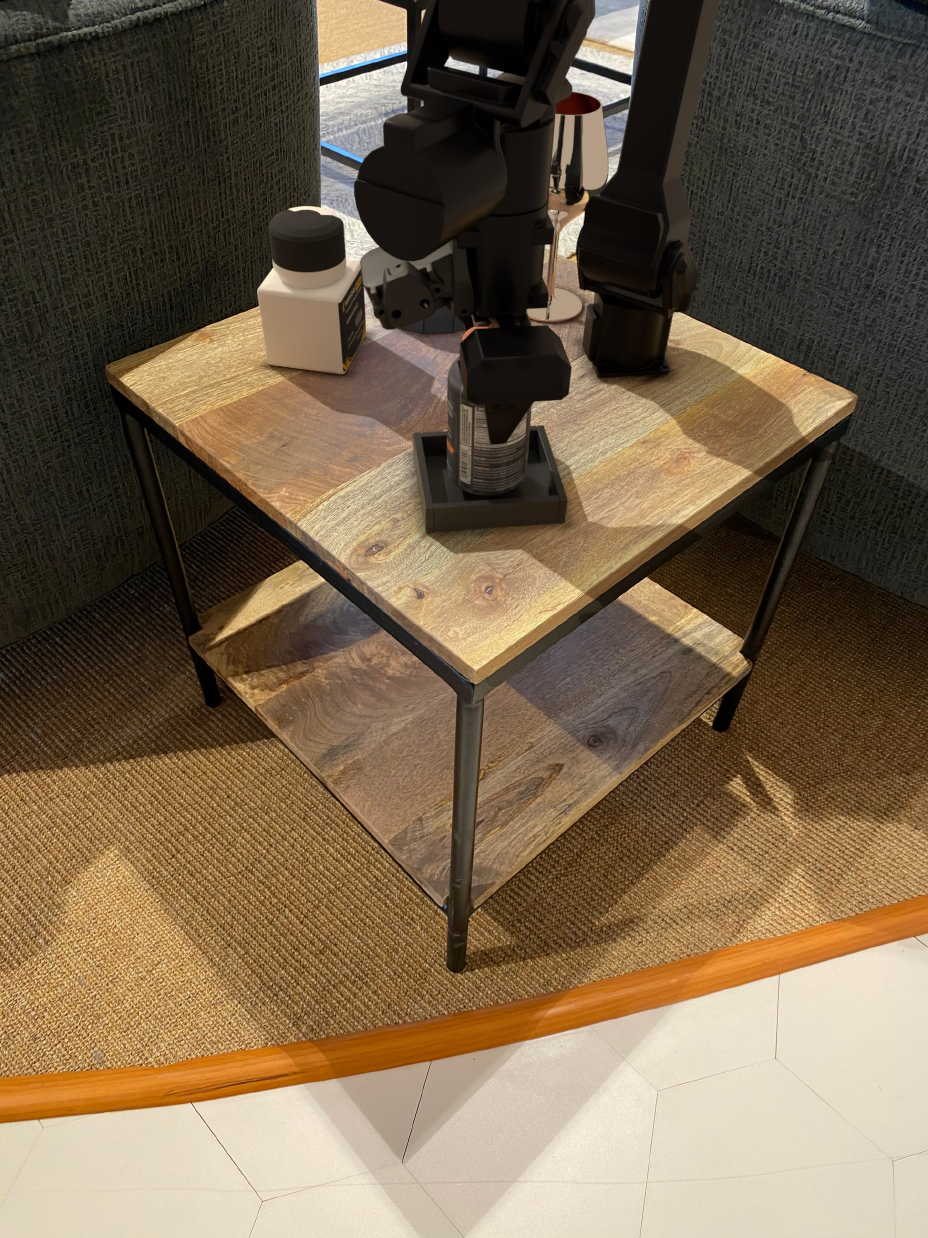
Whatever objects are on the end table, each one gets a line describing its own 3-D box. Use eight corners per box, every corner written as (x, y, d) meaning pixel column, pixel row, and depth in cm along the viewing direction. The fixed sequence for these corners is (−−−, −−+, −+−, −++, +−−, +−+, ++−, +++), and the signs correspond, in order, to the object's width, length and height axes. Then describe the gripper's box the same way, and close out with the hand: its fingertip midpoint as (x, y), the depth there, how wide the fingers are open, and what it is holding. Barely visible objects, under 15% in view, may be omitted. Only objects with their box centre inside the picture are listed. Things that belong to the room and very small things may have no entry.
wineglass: (487, 303, 94) (496, 100, 81) (545, 276, 98) (562, 79, 85) (551, 336, 90) (571, 128, 77) (608, 306, 94) (637, 104, 81)
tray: (541, 448, 78) (543, 424, 76) (565, 523, 72) (568, 499, 70) (413, 455, 77) (412, 432, 75) (425, 533, 71) (425, 509, 69)
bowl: (478, 277, 97) (479, 243, 95) (493, 330, 90) (495, 294, 88) (375, 281, 96) (373, 247, 94) (382, 335, 89) (381, 299, 87)
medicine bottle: (345, 376, 85) (335, 240, 76) (266, 365, 85) (247, 230, 77) (367, 334, 89) (360, 202, 81) (292, 324, 90) (277, 193, 82)
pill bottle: (461, 442, 76) (464, 307, 68) (535, 458, 75) (547, 322, 67) (435, 488, 72) (435, 350, 64) (513, 505, 71) (523, 367, 63)
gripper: (356, 139, 64) (368, 352, 75) (376, 276, 51) (387, 508, 63) (524, 134, 65) (511, 344, 76) (585, 267, 52) (559, 496, 64)
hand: (490, 416), depth 70 cm, fingers closed on pill bottle, 6 cm apart
